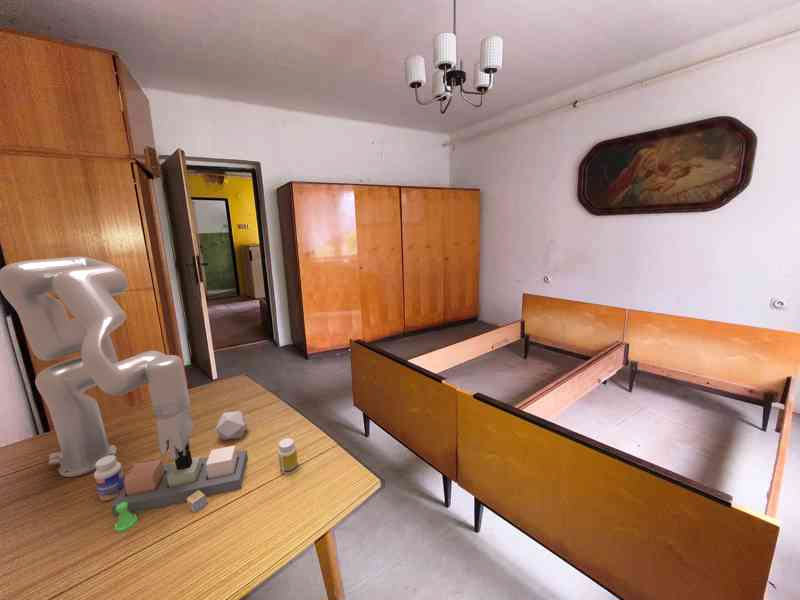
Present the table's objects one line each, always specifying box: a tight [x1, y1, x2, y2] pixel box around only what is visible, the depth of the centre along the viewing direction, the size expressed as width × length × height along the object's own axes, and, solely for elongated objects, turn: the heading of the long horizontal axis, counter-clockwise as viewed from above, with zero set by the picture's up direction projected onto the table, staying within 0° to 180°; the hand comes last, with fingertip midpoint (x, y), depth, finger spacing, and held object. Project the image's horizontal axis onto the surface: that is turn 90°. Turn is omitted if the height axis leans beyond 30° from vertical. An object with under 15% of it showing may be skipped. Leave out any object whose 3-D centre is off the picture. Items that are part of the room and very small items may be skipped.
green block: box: [167, 456, 202, 487], centre depth 87 cm, size 6×6×5 cm
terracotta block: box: [124, 459, 165, 496], centre depth 84 cm, size 6×6×5 cm
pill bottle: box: [93, 455, 126, 501], centre depth 85 cm, size 5×5×10 cm
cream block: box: [206, 445, 238, 479], centre depth 89 cm, size 6×6×5 cm
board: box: [110, 449, 249, 518], centre depth 88 cm, size 28×12×3 cm, turn 106°
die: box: [214, 410, 249, 441], centre depth 107 cm, size 8×9×10 cm
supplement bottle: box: [278, 437, 299, 475], centre depth 92 cm, size 5×5×8 cm
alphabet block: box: [186, 490, 208, 514], centre depth 81 cm, size 3×3×3 cm
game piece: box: [114, 502, 139, 533], centre depth 76 cm, size 4×4×6 cm
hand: (184, 466), depth 87 cm, fingers closed
